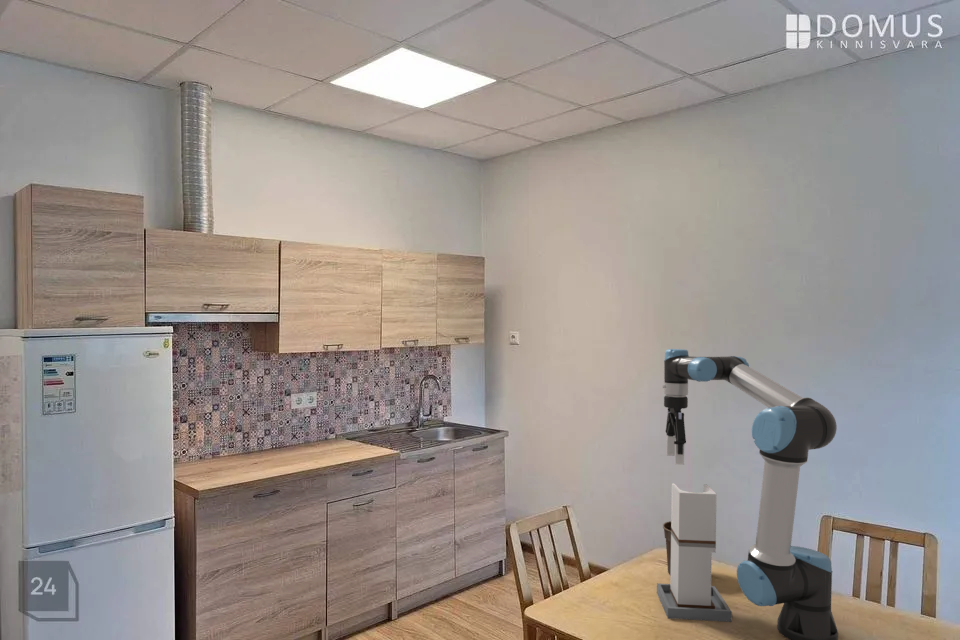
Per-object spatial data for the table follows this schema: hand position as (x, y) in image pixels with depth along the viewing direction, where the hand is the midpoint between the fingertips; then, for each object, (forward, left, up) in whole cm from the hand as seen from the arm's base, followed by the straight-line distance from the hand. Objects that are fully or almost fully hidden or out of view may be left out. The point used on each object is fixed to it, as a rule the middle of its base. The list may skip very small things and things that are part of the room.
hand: (675, 459), depth 216 cm
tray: (-2, +18, -41) cm, 45 cm away
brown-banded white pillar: (-2, +18, -40) cm, 44 cm away
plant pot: (-6, -8, -41) cm, 42 cm away
